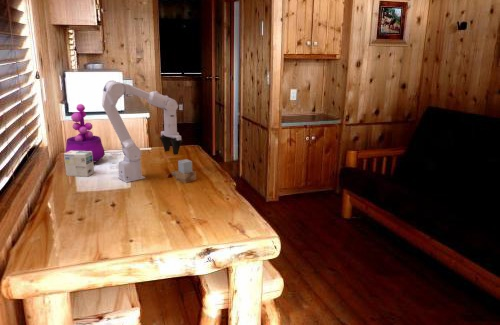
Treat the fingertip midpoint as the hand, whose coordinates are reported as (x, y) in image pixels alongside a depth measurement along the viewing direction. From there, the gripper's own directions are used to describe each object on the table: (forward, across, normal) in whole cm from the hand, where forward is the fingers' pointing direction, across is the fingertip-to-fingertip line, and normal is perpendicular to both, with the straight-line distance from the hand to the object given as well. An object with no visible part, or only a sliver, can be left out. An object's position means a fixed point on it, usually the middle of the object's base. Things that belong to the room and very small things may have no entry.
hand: (171, 152), depth 190 cm
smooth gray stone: (+10, -4, -1) cm, 11 cm away
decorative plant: (+10, +44, +24) cm, 51 cm away
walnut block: (+10, -13, +1) cm, 17 cm away
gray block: (+6, -13, +1) cm, 14 cm away
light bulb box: (+10, +25, +34) cm, 43 cm away
